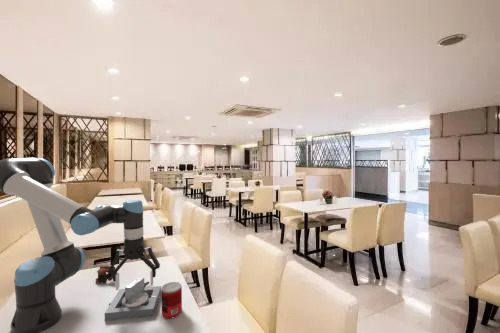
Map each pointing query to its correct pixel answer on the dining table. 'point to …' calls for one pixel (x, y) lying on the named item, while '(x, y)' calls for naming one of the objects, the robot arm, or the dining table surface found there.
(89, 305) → the dining table surface
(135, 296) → the dial
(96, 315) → the dining table surface
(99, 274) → the pottery mug
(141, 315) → the grey square tray
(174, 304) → the canned food
